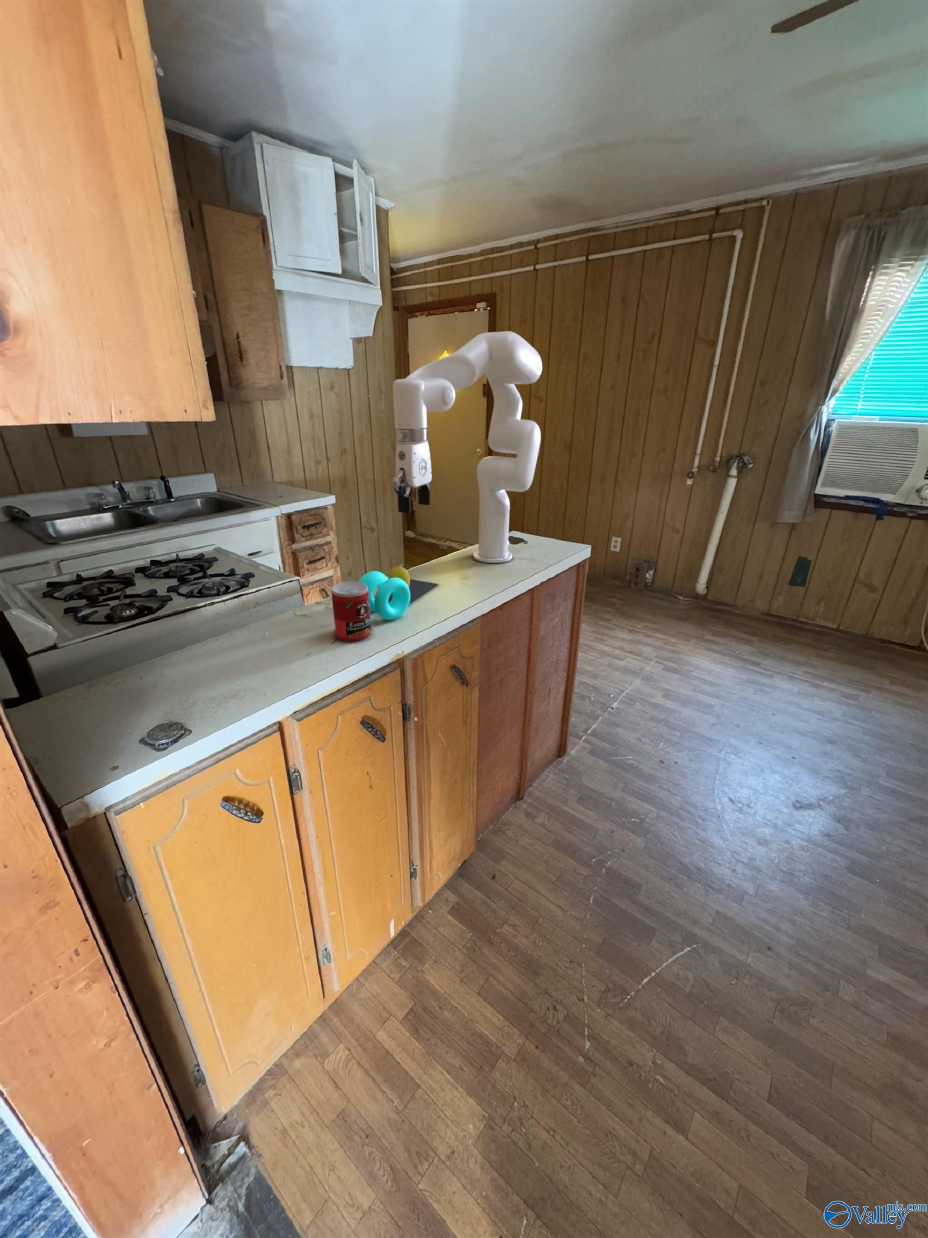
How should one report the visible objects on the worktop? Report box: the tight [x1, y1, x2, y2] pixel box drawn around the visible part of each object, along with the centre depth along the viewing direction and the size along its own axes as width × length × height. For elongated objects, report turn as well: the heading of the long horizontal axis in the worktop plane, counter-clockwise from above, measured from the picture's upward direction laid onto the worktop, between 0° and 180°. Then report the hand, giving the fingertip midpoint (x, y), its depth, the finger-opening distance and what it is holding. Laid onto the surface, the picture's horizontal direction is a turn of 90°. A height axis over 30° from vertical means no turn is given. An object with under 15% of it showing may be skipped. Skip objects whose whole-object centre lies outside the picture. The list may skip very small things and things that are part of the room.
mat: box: [388, 578, 439, 605], centre depth 134 cm, size 18×10×1 cm, turn 155°
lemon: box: [387, 565, 411, 587], centre depth 130 cm, size 6×6×8 cm
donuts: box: [358, 570, 410, 621], centre depth 118 cm, size 10×10×10 cm
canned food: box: [330, 580, 372, 642], centre depth 108 cm, size 8×8×11 cm
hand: (414, 508), depth 126 cm, fingers open, 9 cm apart
